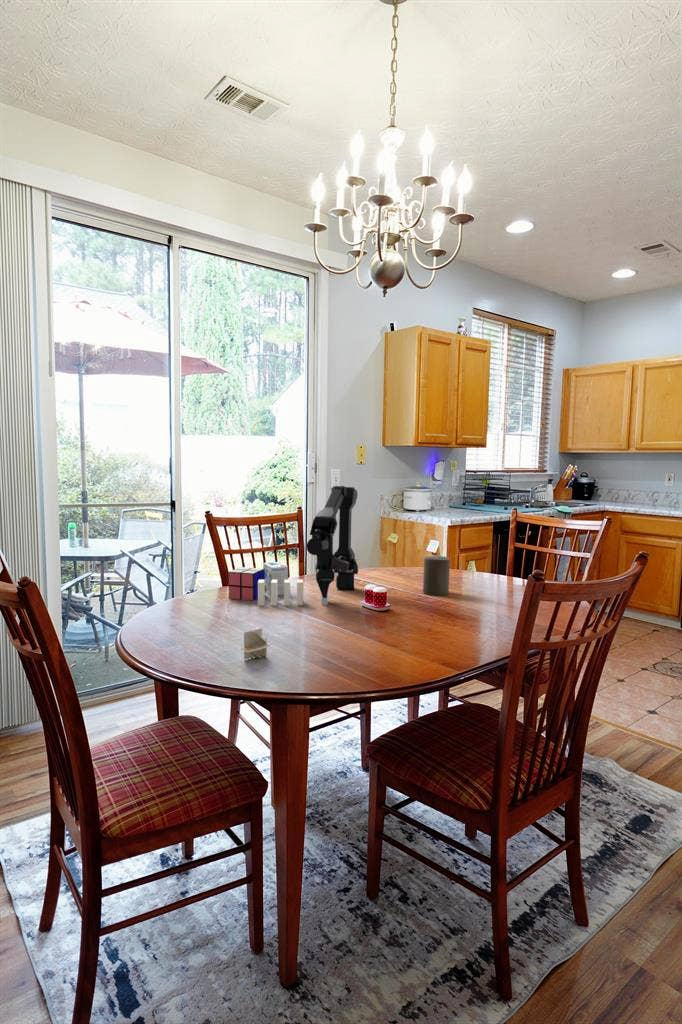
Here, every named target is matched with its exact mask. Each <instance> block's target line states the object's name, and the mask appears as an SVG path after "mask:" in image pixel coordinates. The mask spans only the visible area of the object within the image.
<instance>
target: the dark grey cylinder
mask: <svg viewBox="0 0 682 1024" xmlns="http://www.w3.org/2000/svg"><path fill="white" fill-rule="evenodd" d="M423 558H424V559H423V561H424V562H423V579H422V580H423V581H422V583H423V584H422V592H423V594H425V595H428V596H429V595H430V596H433V597H434V596H435V597H441V596H442V597H443V596H448V595H449V594H450V593H449V592H450V591H449V588H450V587H449V586H450V571H451V570H450V567H451V565H450V564H451V563H450V561H451V558H450V557H447V556H442V555H438V554H436V555H426V556H424V557H423Z"/></svg>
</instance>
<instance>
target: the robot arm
mask: <svg viewBox="0 0 682 1024" xmlns="http://www.w3.org/2000/svg"><path fill="white" fill-rule="evenodd" d="M357 498H358V490H357V489H356V488H355V487H354V486H345V485H333V486H331V492H330V494H329V496H328V499H327V501H326V503H325V506H324V508H323V509H321V510H320V511H318V512H317V514H316V515H315V517H314V518H313V521H312V523H311V524H312V525H311V528H310V532H309V535H310V536H311V538H310V539H309V540H308V541H307V543H306V550H307V552H308V554H310V555H312V556H316V563H315V569H314V570H315V580H316V583H317V586H318V588H319V591H320V593H322V596H323V598H326V597H327V593H328V592H329V588H330V584H331V583H332V582H334V581H335V587H336V588H337V590H338V591H354V590H355V589H356V588H355V575H358V574H359V565H358V562H357V559H356V556H355V555H356V554H355V552H354V550H353V548H352V515H353V514H352V510H353V508H355V507H354V506H356V504H357ZM338 511H339V512H338ZM338 513H339V519H338V520H337V514H338ZM337 521H339V523H338V522H337ZM337 527H338V547H337V550H336V551H335V552H334V536H335V533H336V529H337ZM335 574H337V575H335ZM335 579H336V580H335Z"/></svg>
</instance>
